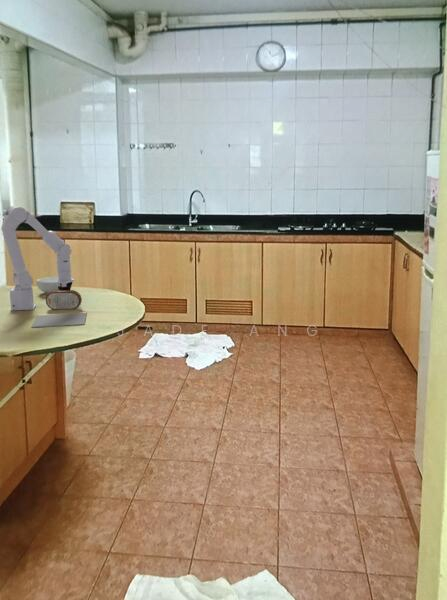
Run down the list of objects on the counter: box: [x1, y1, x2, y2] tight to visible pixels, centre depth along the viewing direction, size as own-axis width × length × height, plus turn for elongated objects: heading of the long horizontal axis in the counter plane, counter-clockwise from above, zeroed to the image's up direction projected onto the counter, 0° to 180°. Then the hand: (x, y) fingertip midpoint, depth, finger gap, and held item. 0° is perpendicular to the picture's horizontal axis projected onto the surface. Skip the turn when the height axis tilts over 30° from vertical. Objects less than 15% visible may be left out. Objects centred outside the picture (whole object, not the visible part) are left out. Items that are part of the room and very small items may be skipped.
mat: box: [30, 312, 88, 329], centre depth 241 cm, size 20×18×1 cm
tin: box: [45, 289, 83, 311], centre depth 259 cm, size 15×3×8 cm, turn 92°
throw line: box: [44, 311, 88, 315], centre depth 251 cm, size 20×1×1 cm, turn 100°
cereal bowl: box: [36, 276, 74, 295], centre depth 293 cm, size 17×17×7 cm
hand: (66, 299), depth 272 cm, fingers open, 7 cm apart
